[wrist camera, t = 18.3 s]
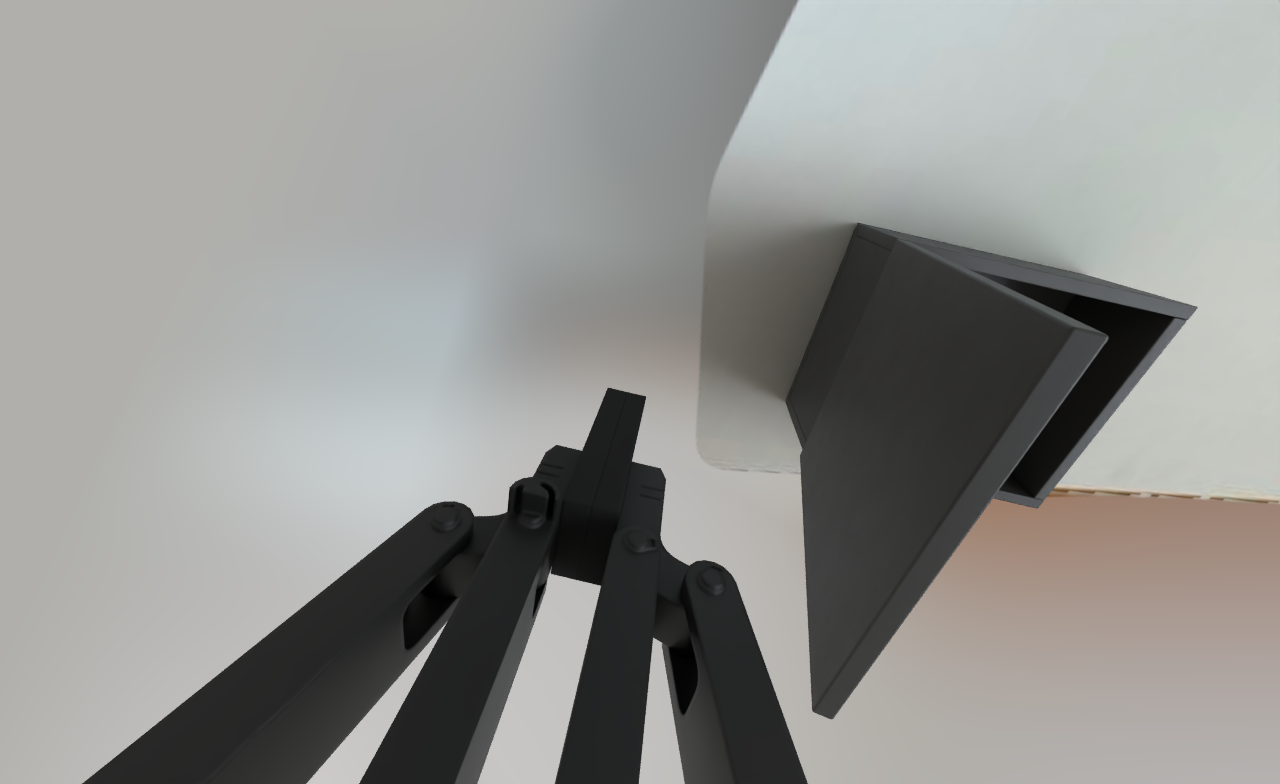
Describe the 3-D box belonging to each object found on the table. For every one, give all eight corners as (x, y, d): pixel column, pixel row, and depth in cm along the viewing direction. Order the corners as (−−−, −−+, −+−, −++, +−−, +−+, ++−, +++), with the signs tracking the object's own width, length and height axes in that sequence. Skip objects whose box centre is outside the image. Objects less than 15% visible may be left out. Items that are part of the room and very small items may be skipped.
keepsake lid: (1113, 336, 10) (1072, 326, 10) (832, 721, 17) (811, 712, 17) (911, 241, 26) (896, 238, 26) (810, 459, 33) (799, 455, 33)
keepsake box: (1089, 275, 34) (1198, 307, 26) (976, 447, 41) (1037, 509, 34) (857, 222, 34) (900, 238, 27) (784, 402, 41) (803, 454, 34)
